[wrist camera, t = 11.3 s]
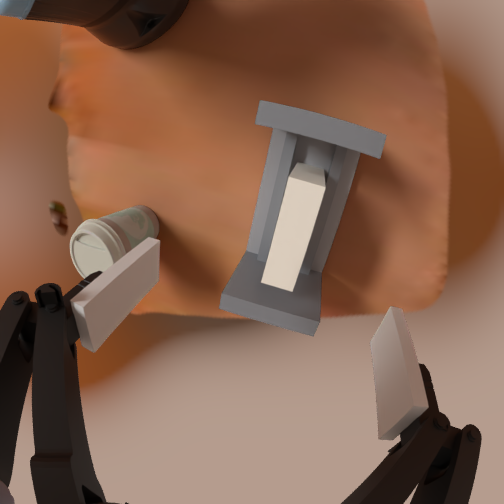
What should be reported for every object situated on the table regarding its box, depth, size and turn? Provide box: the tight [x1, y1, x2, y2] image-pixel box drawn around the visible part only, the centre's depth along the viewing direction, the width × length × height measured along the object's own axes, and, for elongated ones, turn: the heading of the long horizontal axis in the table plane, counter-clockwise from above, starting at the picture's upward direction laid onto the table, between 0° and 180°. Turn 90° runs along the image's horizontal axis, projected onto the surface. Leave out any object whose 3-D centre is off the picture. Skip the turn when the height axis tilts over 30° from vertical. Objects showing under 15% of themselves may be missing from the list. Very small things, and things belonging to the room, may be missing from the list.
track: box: [219, 100, 387, 336], centre depth 28 cm, size 20×10×11 cm, turn 168°
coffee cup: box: [70, 205, 159, 279], centre depth 35 cm, size 8×9×12 cm
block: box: [261, 162, 326, 291], centre depth 28 cm, size 10×3×10 cm, turn 168°
